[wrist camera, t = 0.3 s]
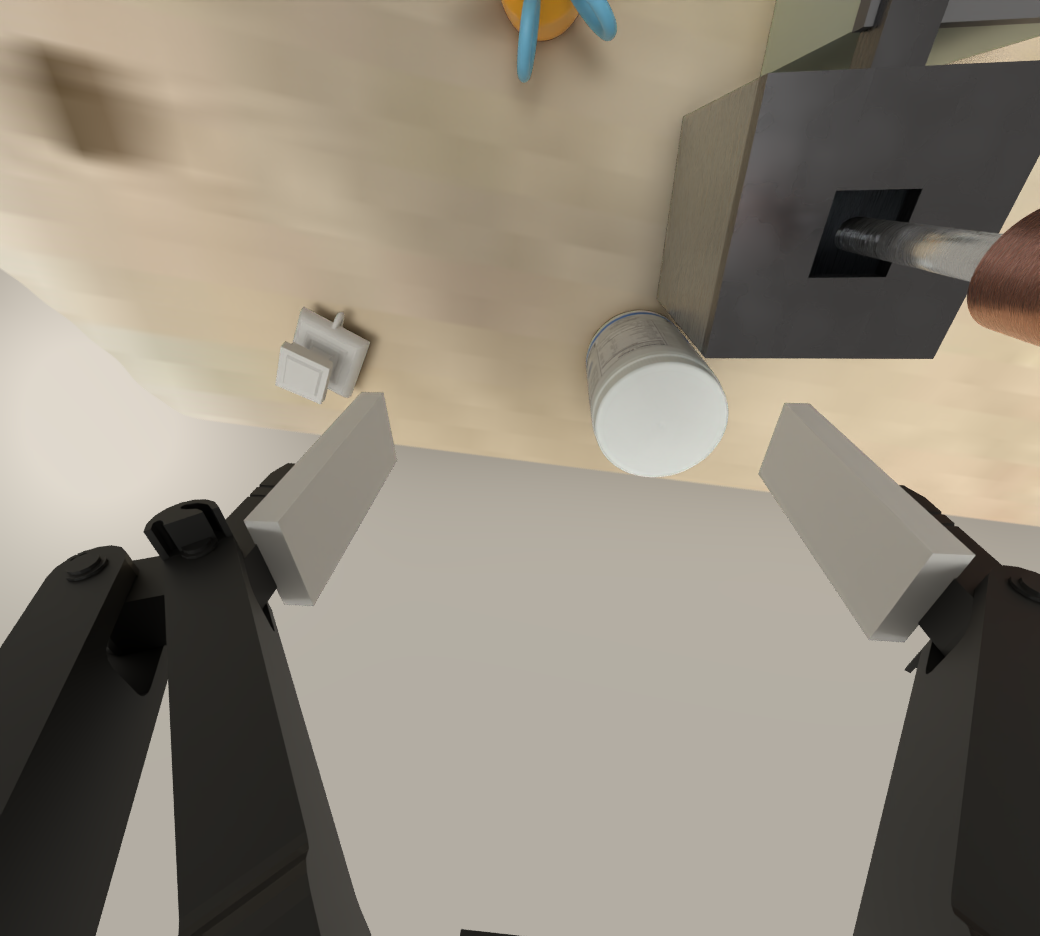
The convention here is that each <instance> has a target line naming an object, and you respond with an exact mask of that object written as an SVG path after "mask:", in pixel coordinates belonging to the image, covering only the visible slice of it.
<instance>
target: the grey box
mask: <svg viewBox="0 0 1040 936" xmlns="http://www.w3.org/2000/svg"><path fill="white" fill-rule="evenodd" d="M948 3H949V0H881V1H880V4H879V7H878V10H877V14H876V17H875V20H874V23H873V26H872V27H870V28H868V29H866V30H864V31H862V32H860V35H859V38H858V42H857V45H856V48H855V52H854V55H853V58H852V62H851V65H850V69H843V70H821V71H800V72H778V73H767V74H765V75H763V76H761V77H759V78H758V79H756V80H754V81H752V82H750V83H748V84H746V85H744V86H742V87H740V88H738V89H736V90H734V91H732V92H730V93H728V94H726V95H725V96H723V97H721V98H719V99H717V100H715V101H713V102H711V103H709V104H707V105H705V106H703V107H701V108H699V109H697V110H695V111H694V112H692V113H690V114H688V115H686V116H684V117H683V121H682V128H681V135H680V142H679V148H678V155H677V162H676V169H675V176H674V183H673V190H672V197H671V204H670V211H669V217H668V224H667V231H666V238H665V245H664V252H663V259H662V266H661V273H660V280H659V286H658V293H657V299H658V301H659V302H660V303H661V304H662V305H663V307H664V308H665V309H666V310H667V312H668V313H669V314H670V315H671V317H672V318H673V319H674V320H675V321H676V323H677V324H678V325H679V326H680V328H681V329H682V330H683V331H684V332H685V334H686V335H687V336H688V337H689V339H690V340H691V341H692V342H693V343H694V345H695V346H696V347H697V348H698V350H699V351H700V352H701V353H702V355H703V356H704V357H705V358H849V359H933V358H934V356H935V354H936V352H937V350H938V349H939V347H940V345H941V343H942V341H943V339H944V337H945V335H946V333H947V331H948V329H949V327H950V326H951V324H952V322H953V320H954V318H955V316H956V314H957V312H958V310H959V308H960V306H961V305H962V303H963V301H964V299H965V297H966V295H967V293H968V288H969V284H970V282H969V281H965V280H961V279H957V278H953V277H949V276H945V275H941V274H937V273H933V272H929V271H925V270H921V269H917V268H913V267H909V266H905V265H900V264H896V263H892V262H888V261H884V260H880V259H876V258H872V257H868V256H864V255H860V254H856V253H852V252H848V251H844V250H841V249H839V248H838V247H837V246H836V244H835V234H836V232H837V230H838V228H839V227H840V226H841V225H842V224H843V223H844V222H845V221H846V220H848V219H850V218H852V217H867V218H875V219H883V220H891V221H900V222H908V223H916V224H924V225H932V226H941V227H949V228H957V229H965V230H974V231H982V232H990V233H998V234H999V232H1000V230H1001V228H1002V226H1003V224H1004V222H1005V220H1006V218H1007V216H1008V215H1009V213H1010V211H1011V209H1012V207H1013V205H1014V203H1015V201H1016V199H1017V197H1018V195H1019V193H1020V192H1021V190H1022V188H1023V186H1024V184H1025V182H1026V180H1027V178H1028V176H1029V174H1030V172H1031V170H1032V169H1033V167H1034V165H1035V163H1036V161H1037V159H1038V157H1039V155H1040V60H1039V61H1017V62H995V63H974V64H952V65H930V66H925V65H926V63H927V60H928V57H929V54H930V52H931V49H932V46H933V44H934V41H935V38H936V35H937V33H938V30H939V27H940V25H941V22H942V19H943V16H944V14H945V11H946V8H947V6H948Z"/></svg>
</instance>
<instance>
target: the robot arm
mask: <svg viewBox="0 0 1040 936" xmlns="http://www.w3.org/2000/svg"><path fill="white" fill-rule="evenodd" d="M396 461H397V458H396V453H395V448H394V443H393V438H392V433H391V428H390V423H389V418H388V413H387V408H386V403H385V398H384V393H382V392H361V393H360V394H359V395H358V396H357V398H356V399H355V400H354V401H353V402H352V403H351V404H350V405H349V406H348V407H347V408H346V409H345V411H344V412H343V413H342V414H341V415H340V416H339V417H338V418H337V419H336V420H335V421H334V423H333V424H332V425H331V426H330V427H329V428H328V429H327V430H326V431H325V432H324V433H323V435H322V436H321V437H320V438H319V439H318V440H317V441H316V442H315V443H314V444H313V445H312V447H311V448H310V449H309V450H308V451H307V452H306V453H305V454H304V455H303V457H302V458H301V459H300V460H299V461H298V462H297V463H296V464H292V463H288V464H286V465H284V466H282V467H280V468H279V469H277V470H276V471H274V472H272V473H271V474H270V475H269V476H268V477H267V478H266V479H265V480H264V481H263V482H262V483H261V484H260V487H257V488H256V489H255V490H254V491H253V492H252V493H251V494H250V497H247V498H246V499H245V500H244V501H243V502H242V503H241V504H240V505H239V507H237V509H236V510H235V511H234V512H233V513H232V514H231V515H230V516H229V517H228V518H227V519H226V520H225V518H224V516H223V514H222V513H221V510H220V509H219V507H218V505H217V504H216V503H215V502H213V501H210V500H206V499H205V500H192V501H187V502H182V503H179V504H177V505H174V506H172V507H169V508H167V509H165V510H163V511H162V512H160V513H159V514H157V515H155V516H154V517H153V518H152V519H151V520H150V521H149V522H148V523H147V524H146V527H145V529H144V533H145V535H146V536H147V538H148V539H149V541H150V542H151V544H152V545H153V547H154V548H155V550H156V551H157V552H158V554H159V556H157V557H151V558H146V559H140V560H134V561H132V560H131V558H130V557H129V555H128V554H127V553H126V551H125V550H124V549H123V548H122V547H117V546H112V545H111V546H103V547H97V548H94V549H91V550H87V551H83V552H81V553H78V555H74V556H72V557H70V558H69V559H67V560H66V561H65V562H63V563H62V564H60V565H59V566H57V567H56V568H55V569H54V570H53V571H52V572H51V573H50V574H49V575H48V577H47V578H46V579H45V581H44V582H43V584H42V585H41V587H40V588H39V590H38V591H37V593H36V594H35V596H34V597H33V599H32V600H31V602H30V603H29V605H28V606H27V608H26V610H25V611H24V613H23V614H22V616H21V617H20V619H19V620H18V622H17V623H16V625H15V626H14V628H13V629H12V631H11V632H10V634H9V635H8V637H7V638H6V640H5V641H4V643H3V644H2V646H1V648H0V936H95V935H96V932H97V928H98V925H99V921H100V918H101V914H102V910H103V907H104V903H105V900H106V896H107V893H108V889H109V886H110V882H111V878H112V875H113V872H114V868H115V865H116V861H117V858H118V854H119V850H120V847H121V843H122V839H123V836H124V833H125V829H126V825H127V822H128V818H129V815H130V811H131V808H132V804H133V801H134V797H135V793H136V790H137V787H138V783H139V779H140V776H141V772H142V769H143V765H144V762H145V758H146V754H147V751H148V748H149V743H150V741H151V737H152V733H153V730H154V726H155V723H156V719H157V716H158V712H159V708H160V705H161V702H162V698H163V694H164V691H165V687H166V684H167V680H168V685H169V703H170V704H169V705H170V706H169V707H170V727H171V728H170V729H171V750H172V773H173V794H174V816H175V817H174V818H175V837H176V838H175V839H176V862H177V883H178V905H179V935H178V936H371V933H370V931H369V928H368V926H367V923H366V921H365V919H364V916H363V914H362V912H361V910H360V907H359V904H358V901H357V898H356V895H355V892H354V889H353V885H352V882H351V878H350V875H349V872H348V869H347V865H346V862H345V858H344V855H343V851H342V848H341V845H340V841H339V838H338V834H337V831H336V828H335V824H334V821H333V817H332V814H331V810H330V807H329V804H328V800H327V797H326V793H325V790H324V787H323V783H322V780H321V776H320V773H319V769H318V766H317V763H316V759H315V756H314V752H313V749H312V745H311V742H310V739H309V735H308V732H307V729H306V725H305V722H304V718H303V715H302V712H301V708H300V705H299V701H298V698H297V694H296V691H295V688H294V684H293V681H292V678H291V674H290V671H289V667H288V664H287V660H286V657H285V653H284V650H283V647H282V643H281V640H280V637H279V633H278V629H277V626H276V623H275V619H274V616H273V612H272V609H271V607H270V606H269V604H268V600H269V599H270V597H271V596H272V594H273V593H274V591H275V590H276V589H277V591H278V593H279V595H280V597H281V599H282V601H283V603H284V604H287V605H304V606H314V605H315V603H316V601H317V599H318V598H319V596H320V594H321V592H322V591H323V589H324V587H325V585H326V584H327V581H328V580H329V578H330V577H331V575H332V573H333V571H334V570H335V568H336V566H337V564H338V563H339V561H340V559H341V557H342V556H343V554H344V552H345V550H346V549H347V547H348V545H349V544H350V542H351V540H352V538H353V537H354V535H355V533H356V531H357V530H358V528H359V526H360V524H361V523H362V521H363V519H364V517H365V516H366V514H367V512H368V510H369V509H370V507H371V505H372V503H373V502H374V500H375V498H376V496H377V495H378V493H379V491H380V489H381V488H382V486H383V484H384V482H385V481H386V479H387V477H388V475H389V474H390V472H391V470H392V468H393V467H394V465H395V463H396ZM758 474H759V476H760V477H761V479H762V480H763V482H764V483H765V485H766V486H767V488H768V489H769V491H770V492H771V494H772V495H773V496H774V498H775V500H776V501H777V503H778V504H779V506H780V507H781V508H782V510H783V511H784V513H785V515H786V516H787V518H788V519H789V521H790V522H791V524H792V525H793V527H794V528H795V530H796V531H797V533H798V534H799V536H800V537H801V539H802V540H803V542H804V543H805V545H806V546H807V548H808V549H809V551H810V552H811V554H812V555H813V557H814V558H815V560H816V561H817V563H818V564H819V566H820V567H821V569H822V570H823V572H824V573H825V575H826V576H827V578H828V579H829V581H830V582H831V584H832V585H833V587H834V588H835V590H836V591H837V592H838V594H839V596H840V597H841V599H842V600H843V602H844V603H845V605H846V606H847V608H848V609H849V611H850V612H851V614H852V615H853V617H854V618H855V620H856V621H857V623H858V624H859V626H860V627H861V629H862V630H863V632H864V633H865V635H866V636H867V638H868V639H869V640H877V641H893V642H894V641H895V642H905V641H906V640H907V638H908V637H909V636H910V635H911V634H912V632H913V631H914V630H915V629H916V627H917V626H918V625H920V627H921V628H922V629H923V630H924V632H925V633H926V634H927V635H928V637H929V638H930V640H929V642H928V643H927V644H926V645H925V646H924V647H923V649H922V650H921V651H920V652H919V653H918V654H917V655H916V656H915V658H914V659H913V660H912V661H911V663H909V665H908V666H907V667H906V668H905V670H906V671H908V672H909V673H911V672H912V671H913V670H914V669H915V668H917V672H916V676H915V680H914V684H913V689H912V693H911V697H910V701H909V705H908V709H907V713H906V718H905V721H904V725H903V730H902V734H901V738H900V742H899V746H898V751H897V755H896V759H895V763H894V767H893V771H892V775H891V779H890V784H889V788H888V792H887V796H886V800H885V804H884V809H883V813H882V817H881V821H880V825H879V829H878V834H877V838H876V842H875V846H874V850H873V854H872V859H871V863H870V867H869V871H868V875H867V879H866V884H865V887H864V892H863V896H862V900H861V904H860V909H859V912H858V917H857V921H856V925H855V929H854V933H853V936H1040V574H1038V573H1036V572H1033V571H1029V570H1026V569H1023V568H1019V567H1013V566H1005V565H1003V566H1002V565H1001V564H1000V563H999V562H998V561H997V560H995V559H994V558H993V557H992V556H991V555H990V554H988V553H987V552H986V551H985V550H984V549H983V548H982V547H980V546H979V545H978V544H977V543H976V542H975V541H974V540H973V539H972V538H970V537H969V536H968V535H967V534H966V533H965V532H964V531H962V530H961V529H960V528H959V527H957V526H954V523H953V522H952V521H951V520H950V519H949V518H948V517H947V516H945V515H942V514H941V511H940V510H939V509H938V508H936V507H935V506H934V505H933V504H932V503H931V502H930V501H928V500H927V499H926V498H925V497H923V496H921V495H920V494H918V493H916V492H914V491H912V490H911V489H909V488H907V487H905V486H904V485H898V484H897V483H896V482H895V481H894V480H893V479H892V478H890V477H889V476H888V475H887V474H886V473H885V472H884V471H883V470H882V469H881V468H880V467H878V466H877V465H876V464H875V463H874V462H873V461H872V460H871V459H870V458H869V457H867V456H866V455H865V454H864V453H863V452H862V451H861V450H860V449H859V448H858V447H857V446H855V445H854V444H853V443H852V442H851V441H850V440H849V439H848V438H847V437H846V436H844V435H843V434H842V433H841V432H840V431H839V430H838V429H837V428H836V427H835V426H834V425H832V424H831V423H830V422H829V421H828V420H827V419H826V418H825V417H824V416H823V415H821V414H820V413H819V412H818V411H817V410H816V409H815V408H814V407H813V406H812V405H811V404H807V403H784V406H783V408H782V411H781V414H780V417H779V419H778V422H777V425H776V427H775V430H774V433H773V435H772V438H771V441H770V444H769V446H768V449H767V452H766V454H765V457H764V460H763V462H762V465H761V468H760V471H759V473H758ZM460 936H517V935H508V934H499V933H490V932H481V931H472V930H463V929H462V930H461V933H460Z"/></svg>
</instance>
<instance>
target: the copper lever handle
mask: <svg viewBox="0 0 1040 936" xmlns="http://www.w3.org/2000/svg"><path fill="white" fill-rule="evenodd" d="M835 244H836V246H837V247H838V248H839V249H841V250H844V251H848V252H852V253H856V254H860V255H864V256H868V257H872V258H876V259H880V260H884V261H888V262H892V263H896V264H900V265H905V266H909V267H913V268H917V269H921V270H925V271H929V272H933V273H937V274H941V275H945V276H949V277H953V278H957V279H961V280H965V281H969V282H970V284H969V288H968V293H967V304H968V309H969V312H970V314H971V316H972V317H973V319H974V320H975V321H976V322H977V323H978V324H980V325H981V326H983V327H985V328H988V329H991V330H993V331H996V332H999V333H1002V334H1005V335H1008V336H1011V337H1014V338H1017V339H1019V340H1022V341H1025V342H1028V343H1031V344H1034V345H1037V346H1040V209H1038V210H1036V211H1035V212H1033V213H1031V214H1029V215H1028V216H1026V217H1025V218H1023V219H1022V220H1020V221H1019V222H1017V223H1016V224H1015V225H1013V226H1012V227H1011V228H1010V229H1009V230H1007V231H1006V232H1005V233H1004V234H998V233H990V232H982V231H974V230H965V229H957V228H949V227H941V226H932V225H924V224H916V223H908V222H900V221H891V220H883V219H875V218H867V217H852V218H850V219H848V220H846V221H845V222H844V223H843V224H842V225H841V226H840V227H839V228H838V230H837V232H836V234H835Z"/></svg>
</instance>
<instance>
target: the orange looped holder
mask: <svg viewBox="0 0 1040 936" xmlns="http://www.w3.org/2000/svg"><path fill="white" fill-rule="evenodd" d="M501 1H502V4H503V7H504V10H505V12H506V14H507V16H508V18H509V20H510V22H511V23H512V25H513V26H514V27H515V28H516V29H517V30H518V31H519V41H518V55H517V74H518V78H519V80H520V81H521V82H523V83H525V82H527V81H528V80H529V79H530V77H531V73H532V69H533V64H534V58H535V51H536V44H537V41H546V40H550V39H553V38H555V37H557V36H559V35H561V34H562V33H563V32H565V31H566V30H567V29H568V28H569V27H570V26H571V24H572V23H573V22H574V20H575V19H576V17H577V15H578V14H580V16H581V17H582V18H583V20H584V21H585V22H586V23H587V25H588V26H589V27H590V28H591V29H592V31H593V32H594V33H595V34H596V35H597V36H599V37H600V38H601V39H603V40H605V41H611V40H612V39H613V38H614V37H615V35H616V32H617V23H616V19H615V16H614V14H613V11H612V9H611V7H610V5H609V3H608V2H607V0H501Z"/></svg>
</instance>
